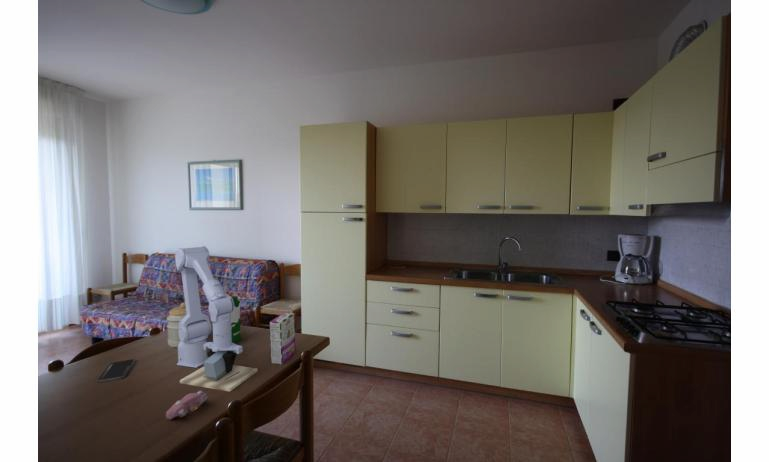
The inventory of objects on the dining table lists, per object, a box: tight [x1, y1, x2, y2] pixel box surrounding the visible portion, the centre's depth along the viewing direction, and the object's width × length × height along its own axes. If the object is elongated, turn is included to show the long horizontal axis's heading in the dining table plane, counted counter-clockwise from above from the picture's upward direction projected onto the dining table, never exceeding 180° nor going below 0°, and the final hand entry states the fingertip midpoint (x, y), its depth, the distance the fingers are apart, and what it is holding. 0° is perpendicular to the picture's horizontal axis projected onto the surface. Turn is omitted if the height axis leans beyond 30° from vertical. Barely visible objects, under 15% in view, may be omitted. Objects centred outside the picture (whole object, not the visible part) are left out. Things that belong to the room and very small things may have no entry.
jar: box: [166, 301, 201, 348], centre depth 147 cm, size 13×13×18 cm
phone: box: [97, 358, 136, 383], centre depth 121 cm, size 8×1×15 cm
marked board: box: [179, 364, 258, 392], centre depth 116 cm, size 20×14×1 cm
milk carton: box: [230, 295, 242, 344], centre depth 147 cm, size 9×9×20 cm
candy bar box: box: [269, 312, 297, 365], centre depth 131 cm, size 11×5×16 cm, turn 168°
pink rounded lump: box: [165, 390, 209, 420], centre depth 96 cm, size 10×5×7 cm, turn 150°
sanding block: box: [202, 351, 227, 380], centre depth 113 cm, size 4×8×6 cm, turn 166°
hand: (223, 371), depth 116 cm, fingers closed on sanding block, 4 cm apart
